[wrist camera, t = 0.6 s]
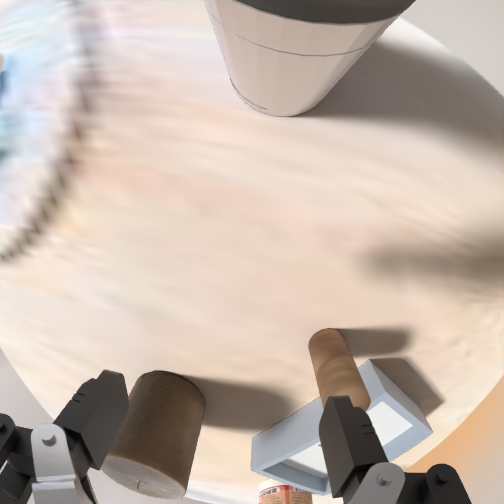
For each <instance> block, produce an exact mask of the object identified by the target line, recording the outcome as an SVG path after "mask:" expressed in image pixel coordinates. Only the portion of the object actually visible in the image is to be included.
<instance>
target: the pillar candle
mask: <svg viewBox="0 0 504 504" xmlns="http://www.w3.org/2000/svg"><path fill="white" fill-rule="evenodd" d="M128 399H129V410H128V414H127V416H126V418H125V420H124V422H123V424H122V426H121V428H120V430H119V432H118V434H117V436H116V438H115V440H114V442H113V444H112V446H111V448H110V450H109V452H108V454H107V456H106V458H105V460H104V462H103V464H102V466H101V468H100V469H101V470H102V471H103V472H104V473H105V474H106V475H107V476H108V477H109V478H111V479H113V480H114V481H116V483H118V484H120V485H122V486H124V487H125V488H128V489H130V490H132V491H135V492H138V493H141V494H143V495H147V496H150V497H155V498H161V499H182V497H183V496H184V495H185V493H186V490H187V485H188V480H189V476H190V472H191V467H192V463H193V459H194V454H195V450H196V446H197V441H198V437H199V434H200V430H201V425H202V421H203V417H204V411H205V401H204V398H203V396H202V394H201V393H200V391H199V390H198V389H197V388H196V387H195V386H194V385H193V384H192V383H191V382H189V381H188V380H186V379H184V378H182V377H181V376H178V375H175V374H172V373H168V372H161V371H152V372H149V373H145V374H143V375H142V376H140V377H139V378H138V380H137V381H136V383H135V385H134V387H133V389H132V391H131V393H130V394H129V396H128Z"/></svg>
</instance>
